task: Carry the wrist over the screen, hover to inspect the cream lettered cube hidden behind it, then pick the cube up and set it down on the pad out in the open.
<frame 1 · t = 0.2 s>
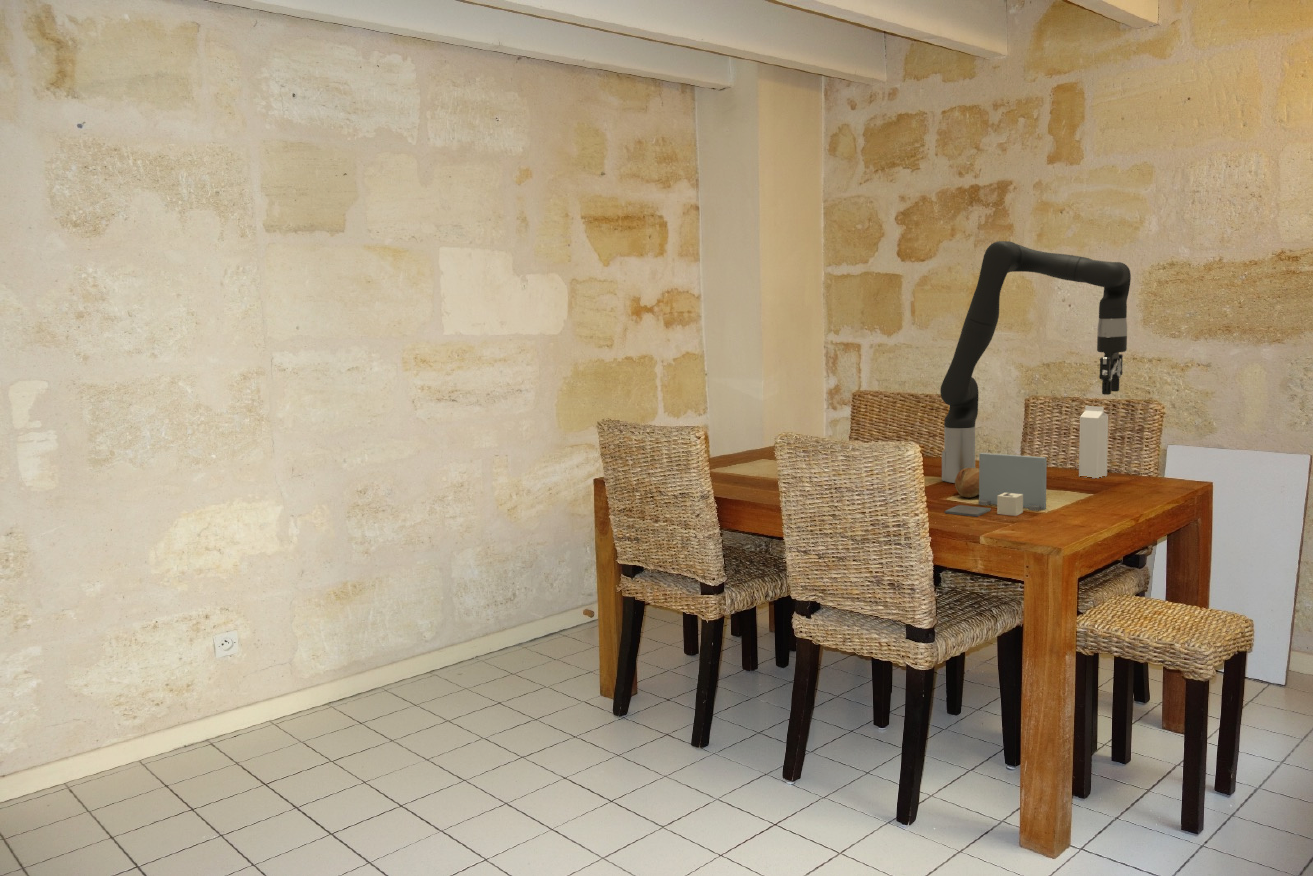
hand: (1110, 392, 278), 29 cm above the table, fingers open, 8 cm apart
milk: (1092, 476, 310), on the table
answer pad: (967, 511, 268), on the table
screen: (1011, 505, 273), on the table
letter cube: (1010, 513, 265), on the table
bread roll: (972, 495, 290), on the table
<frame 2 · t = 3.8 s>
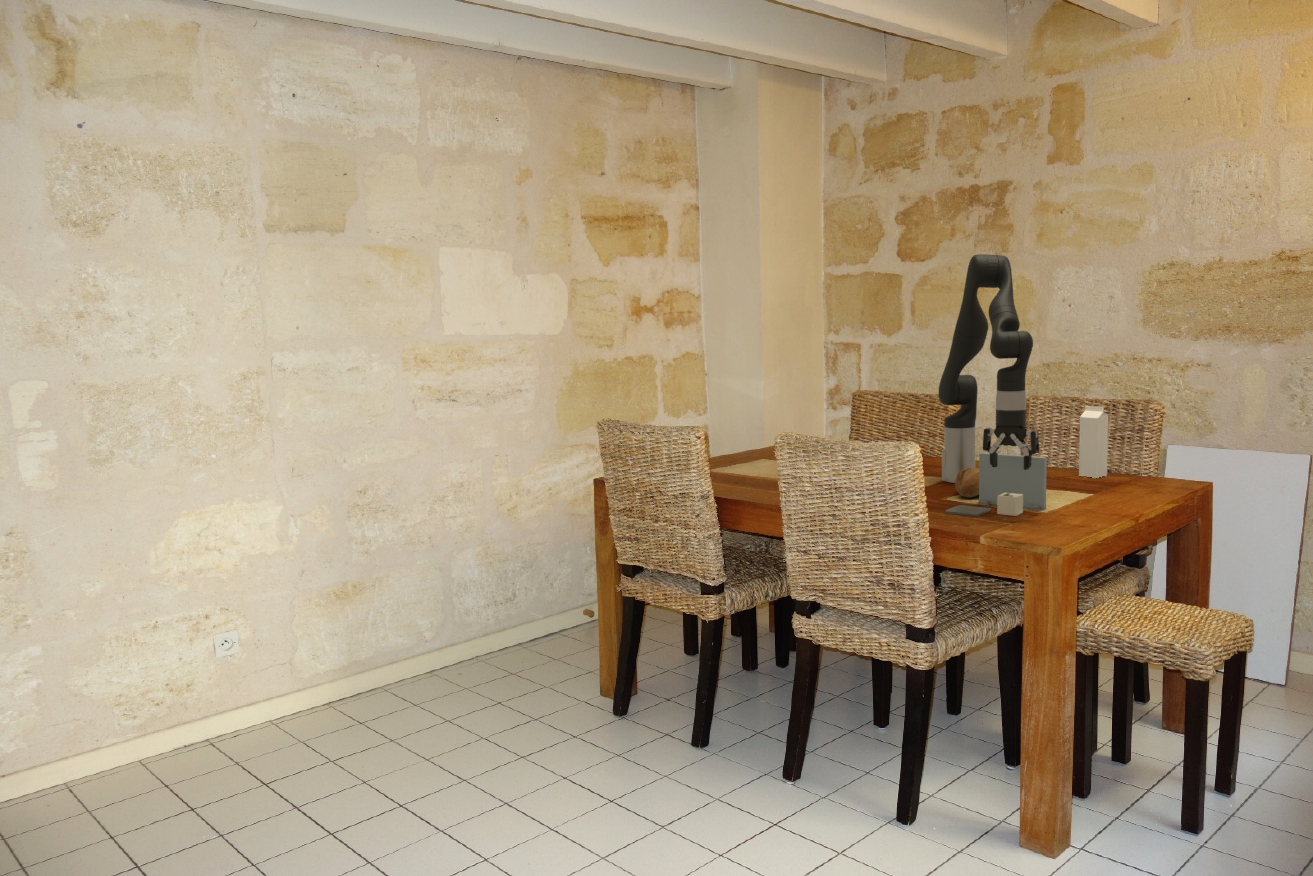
hand: (1010, 468, 263), 12 cm above the table, fingers open, 8 cm apart
nothing on the table moved.
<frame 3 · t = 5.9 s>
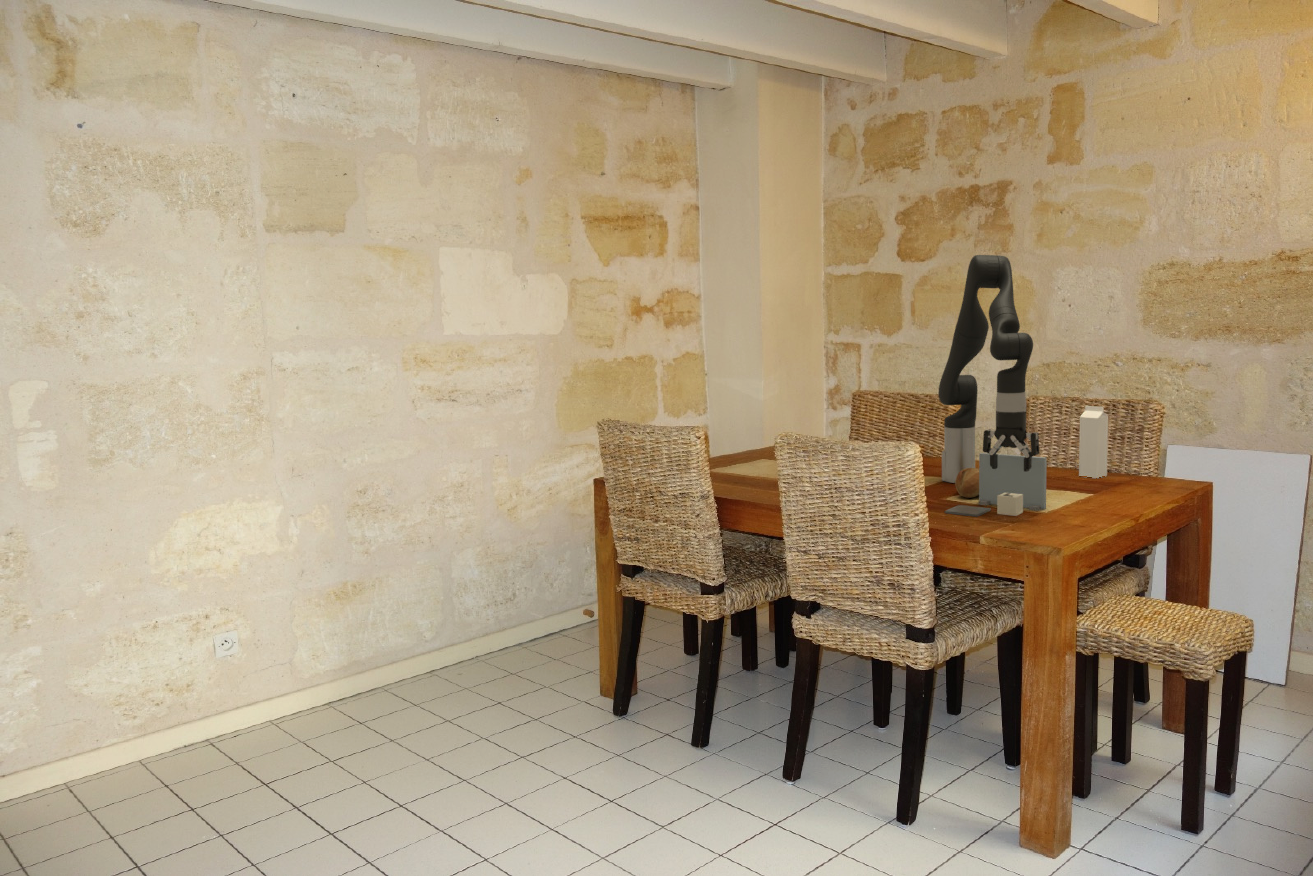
hand: (1010, 469, 263), 12 cm above the table, fingers open, 8 cm apart
nothing on the table moved.
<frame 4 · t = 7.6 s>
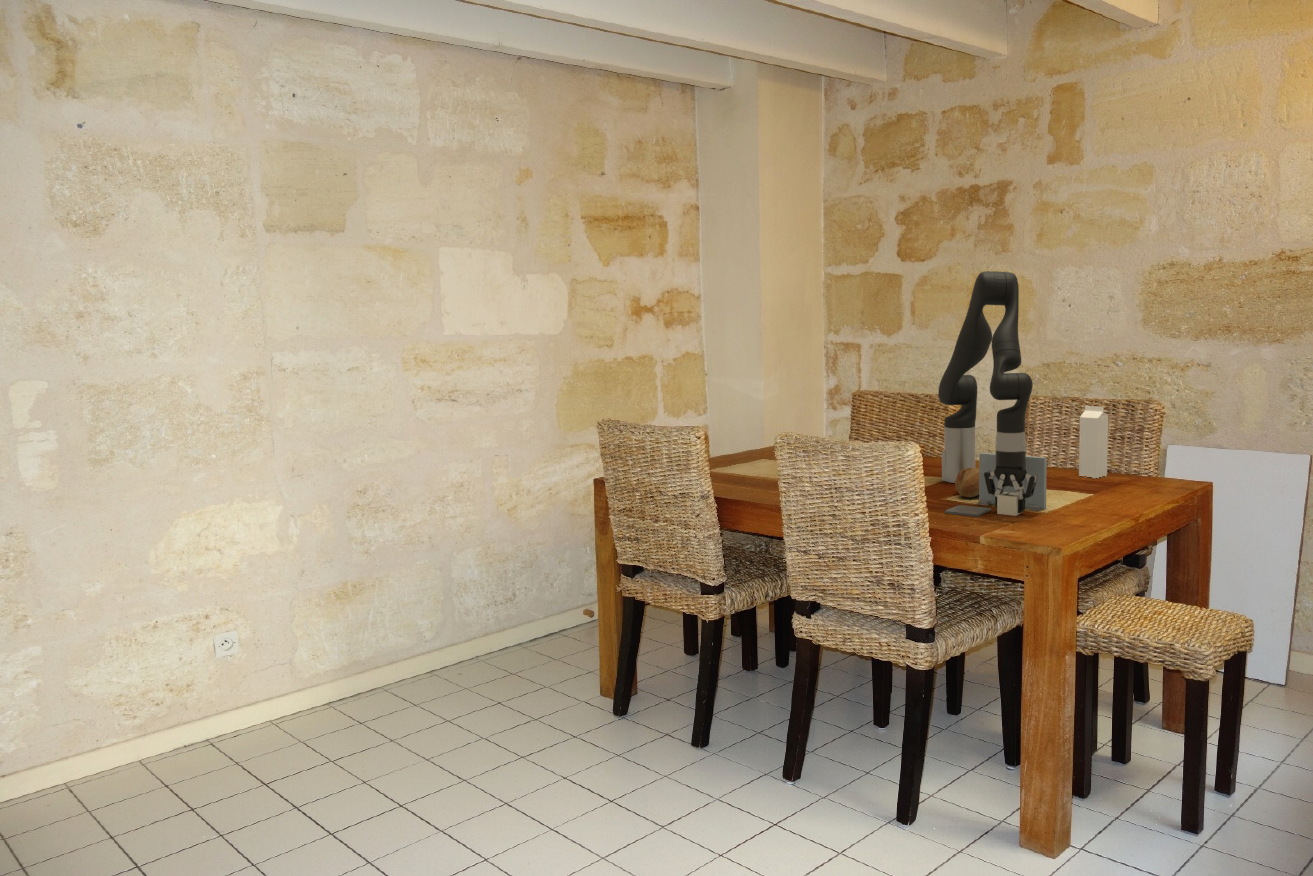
hand: (1010, 511, 265), 0 cm above the table, fingers closed on letter cube, 5 cm apart
letter cube: (1010, 513, 265), on the table, touching gripper
everything else where it was.
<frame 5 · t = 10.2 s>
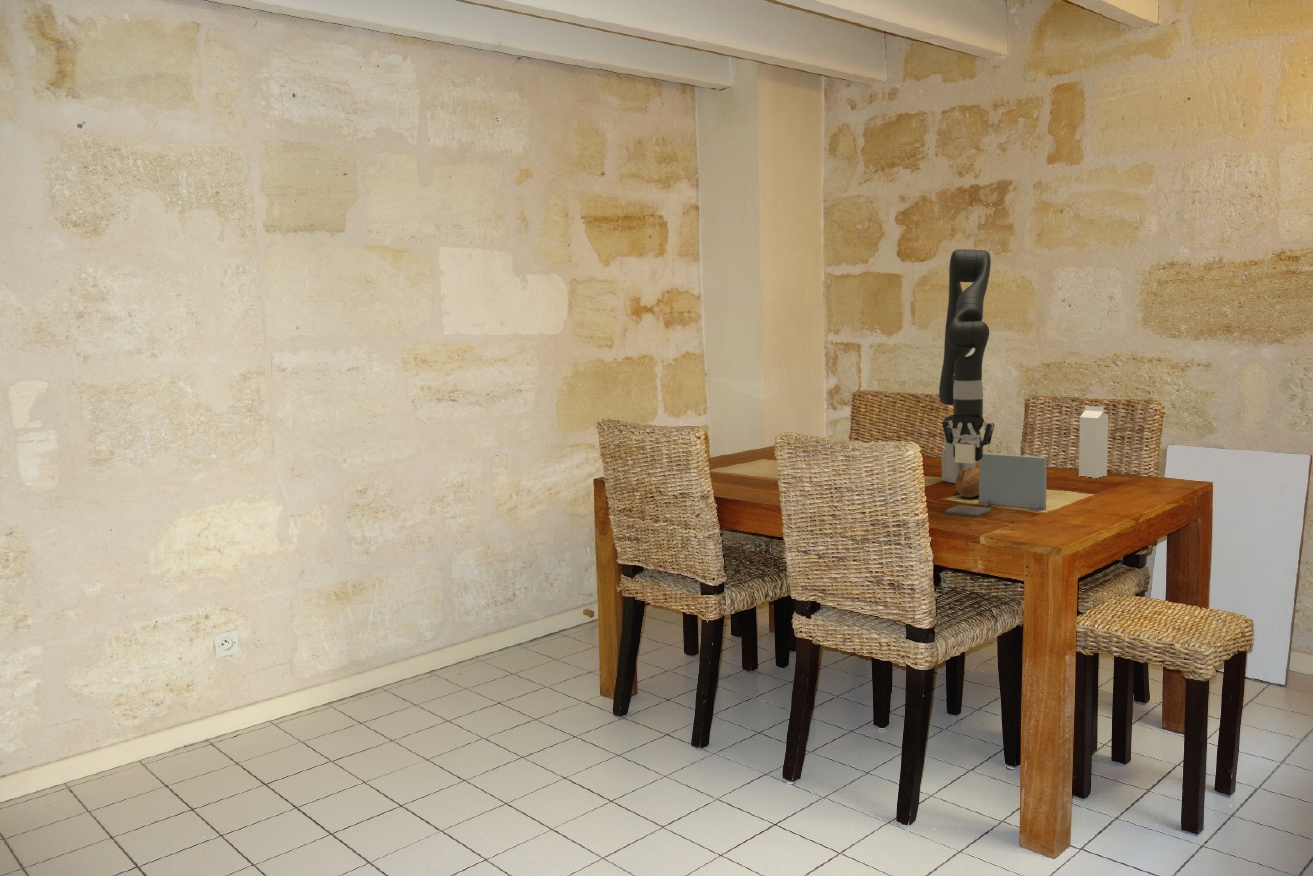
hand: (968, 459, 266), 14 cm above the table, fingers closed on letter cube, 5 cm apart
letter cube: (967, 461, 266), point 14 cm above the table, touching gripper
everything else where it was.
when the fingers open (2 cm above the table, at t = 12.8 s): letter cube stays where it is, resting on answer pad.
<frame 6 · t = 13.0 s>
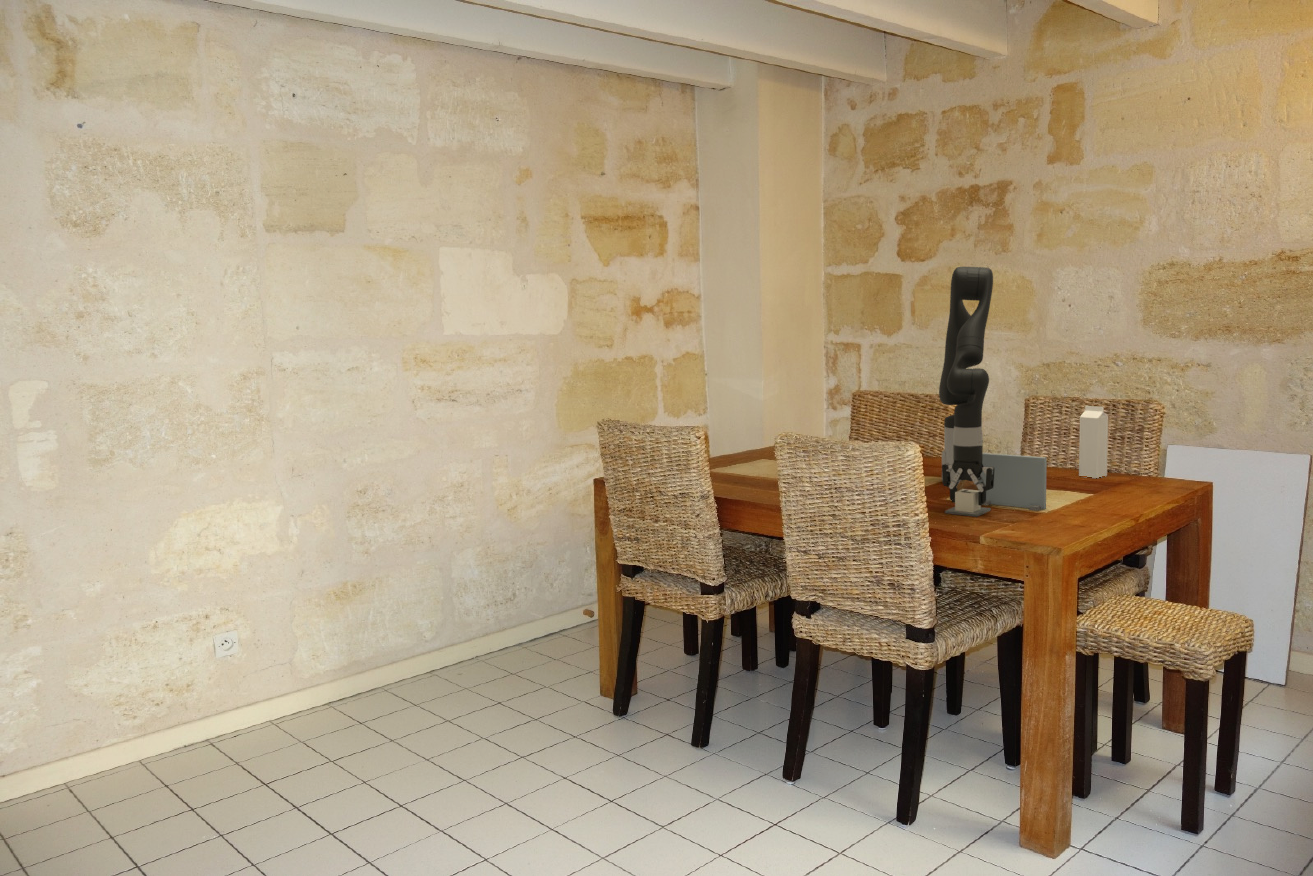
hand: (967, 503, 268), 2 cm above the table, fingers open, 7 cm apart
letter cube: (967, 509, 268), point 1 cm above the table, touching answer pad
everything else where it was.
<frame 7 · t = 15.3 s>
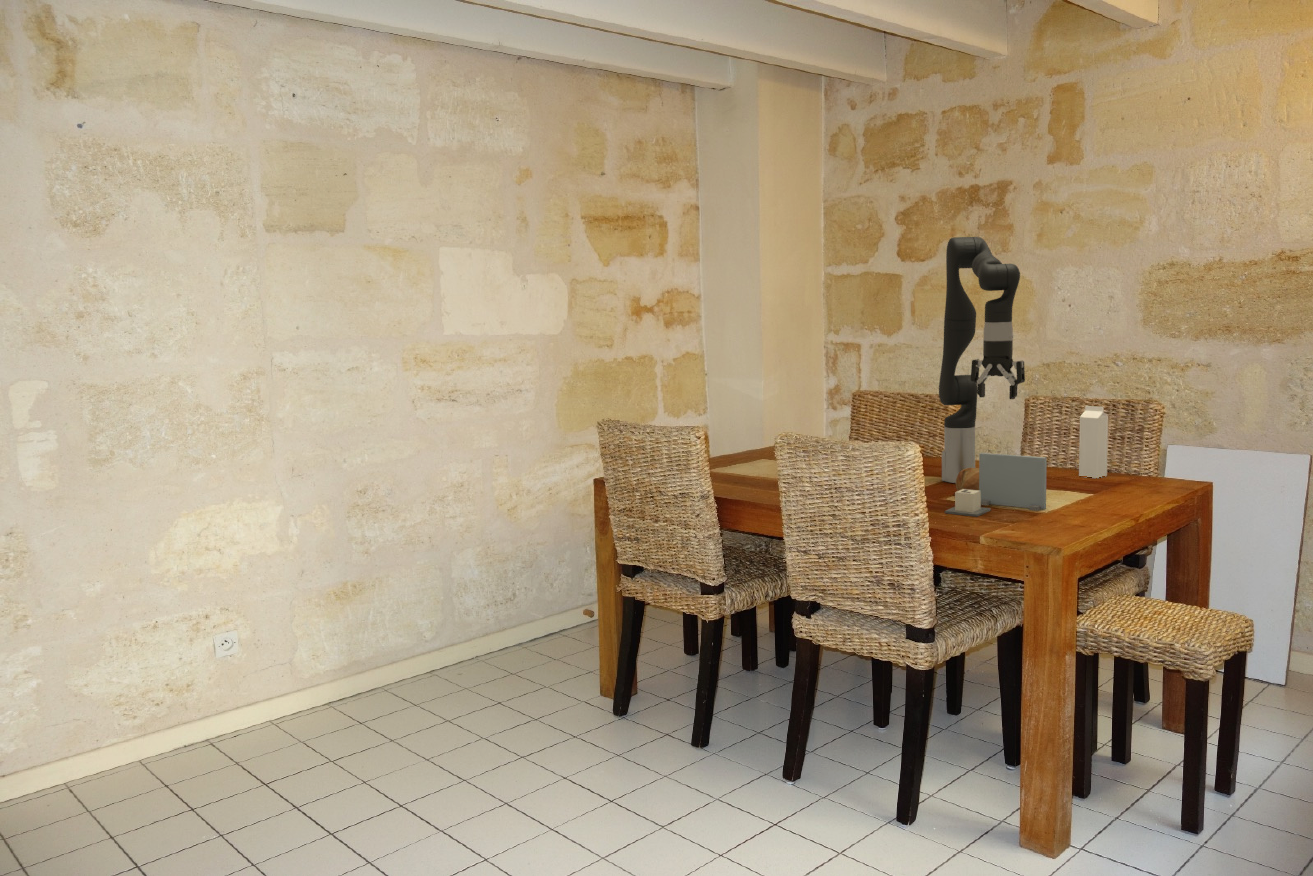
hand: (997, 398, 271), 30 cm above the table, fingers open, 8 cm apart
nothing on the table moved.
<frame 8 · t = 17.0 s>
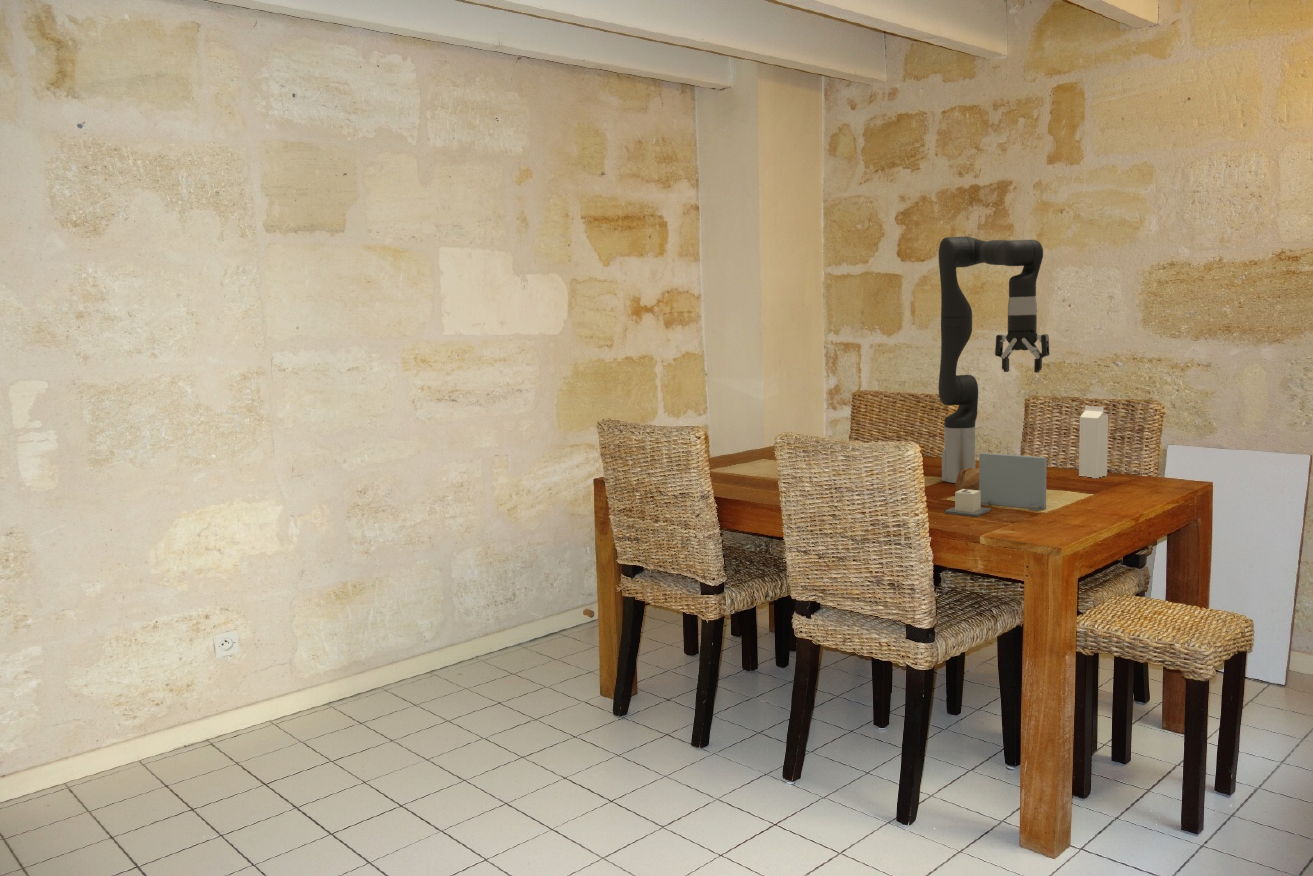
hand: (1021, 372, 276), 36 cm above the table, fingers open, 8 cm apart
nothing on the table moved.
at the end: letter cube inside the target area on the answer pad (0.0 cm from its centre), point 0.6 cm above the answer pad's base; letter cube tilted 0°; the gripper is holding nothing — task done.
